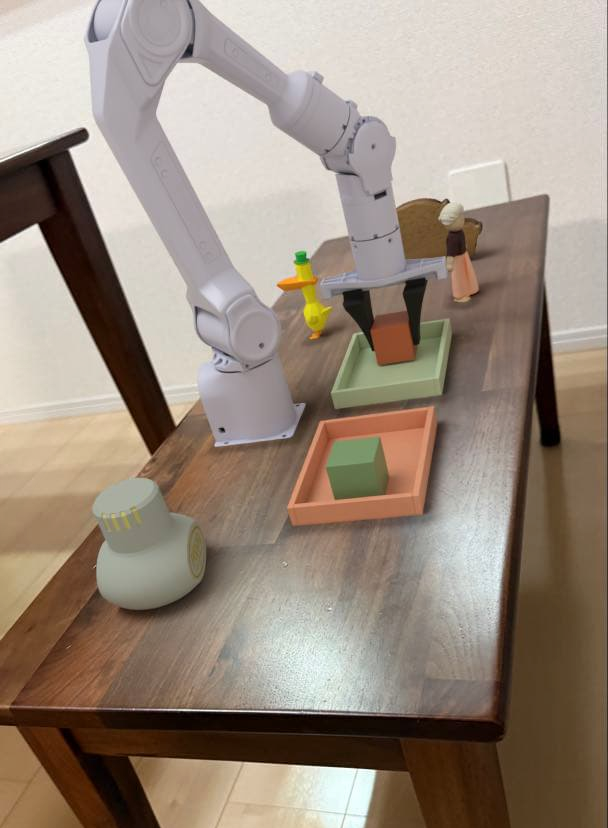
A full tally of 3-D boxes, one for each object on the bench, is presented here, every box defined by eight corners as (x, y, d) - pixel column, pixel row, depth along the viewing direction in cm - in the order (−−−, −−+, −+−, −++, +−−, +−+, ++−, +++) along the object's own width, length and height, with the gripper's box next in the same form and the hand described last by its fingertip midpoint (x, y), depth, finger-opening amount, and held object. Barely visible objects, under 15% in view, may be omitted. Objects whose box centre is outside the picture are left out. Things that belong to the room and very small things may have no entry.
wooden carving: (487, 250, 127) (478, 181, 121) (485, 260, 123) (476, 190, 118) (381, 268, 132) (367, 204, 127) (376, 279, 129) (362, 213, 123)
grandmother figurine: (478, 306, 110) (465, 208, 103) (449, 311, 111) (433, 214, 104) (480, 285, 116) (467, 191, 109) (452, 290, 117) (438, 197, 110)
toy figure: (289, 348, 115) (265, 262, 109) (297, 336, 118) (274, 252, 111) (336, 342, 113) (314, 254, 106) (342, 331, 115) (321, 244, 109)
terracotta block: (377, 365, 101) (370, 330, 99) (382, 349, 105) (375, 315, 102) (414, 360, 100) (407, 324, 97) (418, 344, 103) (411, 309, 101)
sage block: (336, 507, 79) (325, 466, 76) (344, 480, 82) (333, 441, 80) (383, 502, 77) (373, 461, 75) (389, 476, 81) (380, 435, 78)
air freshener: (133, 558, 82) (93, 471, 76) (214, 542, 80) (180, 453, 75) (108, 633, 73) (61, 541, 67) (199, 617, 71) (158, 522, 66)
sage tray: (335, 413, 96) (330, 392, 94) (357, 352, 108) (353, 333, 107) (442, 399, 92) (439, 377, 90) (452, 337, 104) (449, 317, 103)
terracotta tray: (293, 530, 78) (286, 508, 77) (325, 441, 91) (319, 420, 89) (423, 519, 75) (418, 495, 73) (438, 428, 87) (434, 405, 86)
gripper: (441, 208, 95) (458, 321, 102) (318, 233, 99) (344, 339, 107) (436, 228, 89) (455, 346, 97) (306, 253, 94) (334, 364, 101)
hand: (396, 344), depth 102 cm, fingers closed on terracotta block, 4 cm apart
